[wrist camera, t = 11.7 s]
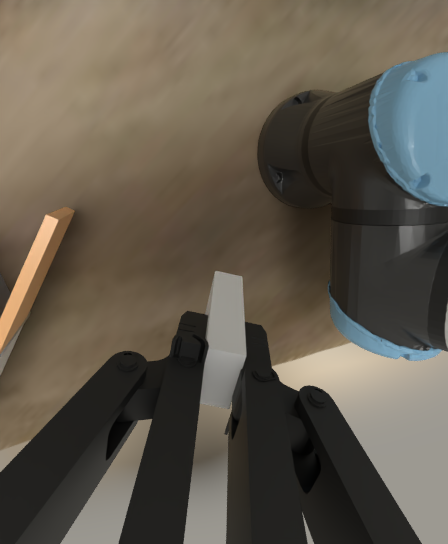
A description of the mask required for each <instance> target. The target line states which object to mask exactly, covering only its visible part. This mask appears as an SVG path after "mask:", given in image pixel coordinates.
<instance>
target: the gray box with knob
mask: <svg viewBox="0 0 448 544" xmlns="http://www.w3.org/2000/svg"><path fill="white" fill-rule="evenodd" d="M10 295H11V293H10V291H9V289H8V287H7V285H6V283H5V281H4V279H3V277H2V276H1V274H0V318H1V316H2V313H3V311H4V309H5V307H6V304H7V302H8V300H9V298H10Z"/></svg>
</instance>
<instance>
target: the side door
mask: <svg viewBox="0 0 448 544" xmlns="http://www.w3.org/2000/svg"><path fill="white" fill-rule="evenodd" d="M74 212H75V211H74V210H72V209H70V208H68V207H64V208H61V209H59V210H56V211H54V212H51V213H49V214H46V216H45V218H44V221H43V223H42V225H41V228H40V230H39V232H38V234H37V237H36V239H35V241H34V243H33V246H32V248H31V250H30V252H29V255H28V257H27V259H26V261H25V264H24V266H23V268H22V270H21V273H20V275H19V277H18V279H17V282H16V284H15V286H14V289H13V291H12V293H11V295H10V298H9V300H8V302H7V304H6V307H5V309H4V311H3V313H2V316H1V318H0V375H1V373H2V371H3V369H4V367H5V364H6V362H7V360H8V358H9V356H10V353H11V351H12V349H13V347H14V344H15V342H16V340H17V338H18V336H19V333H20V331H21V329H22V327H23V325H24V323H25V322H26V320H27V319H28V317H29V316H30V314H31V311H30V309H31V307H32V305H33V303H34V301H35V298H36V296H37V294H38V292H39V290H40V287H41V285H42V283H43V281H44V278H45V276H46V274H47V272H48V270H49V267H50V265H51V263H52V261H53V259H54V256H55V254H56V252H57V250H58V247H59V245H60V243H61V241H62V239H63V236H64V234H65V232H66V230H67V228H68V225H69V223H70V221H71V219H72V217H73V214H74Z"/></svg>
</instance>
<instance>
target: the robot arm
mask: <svg viewBox="0 0 448 544" xmlns="http://www.w3.org/2000/svg"><path fill="white" fill-rule="evenodd" d="M258 164H259V169H260V172H261V175H262V178H263V180H264V182H265V184H266V186H267V187H268V189H269V190H270V191H271V193H272V194H273V195H274V196H275V197H276V198H278V199H279V200H280V201H282V202H284V203H286V204H288V205H291V206H294V207H301V208H317V207H322V206H325V205H327V204H330V203H332V217H331V254H330V280H329V282H328V294H329V298H330V314H331V318H332V320H333V322H334V325H335V326H336V328H337V329H338V330H339V331H340V333H341V334H342V335H343V336H345V337H346V338H347V339H348V340H350V341H351V342H353V343H354V344H356V345H358V346H359V347H361V348H364V349H365V350H367V351H370V352H372V353H375V354H378V355H381V356H384V357H389V358H393V359H398V358H399V357H400V356H402V357H404V358H406V359H407V360H409V361H419V360H426V359H429V358H432V357H435V356H436V355H438V354H439V353H440V352H441V351H442V350H444V351H448V52H443V53H437V54H433V55H430V56H427V57H424V58H421V59H418V60H416V61H408V62H403V63H401V64H399V65H395V66H393V67H392V68H390V69H388V70H386V71H385V72H384V73H382V74H379V75H377V76H375V77H372V78H370V79H368V80H366V81H363V82H361V83H359V84H356V85H354V86H352V87H350V88H347V89H345V90H343V91H340V92H338V93H336V92H329V91H323V90H310V91H305V92H301V93H299V94H296V95H294V96H292V97H290V98H288V99H287V100H285V101H283V102H282V103H281V104H279V105H278V106H277V107H276V108H275V109H274V110H273V111H272V113H271V114H270V115H269V117H268V118H267V120H266V122H265V124H264V126H263V128H262V131H261V134H260V138H259V143H258ZM231 402H232V412H231V414H230V418H229V421H228V424H227V427H226V430H225V434H226V435H227V434H228V431H229V436H228V485H227V533H226V536H227V537H226V544H307V538H306V532H305V526H304V521H303V515H304V518H305V520H306V523H307V526H308V528H309V531H310V534H311V536H312V539H313V542H314V544H422V543H421V542H420V540H419V538H418V537H417V535H416V534H415V532H414V530H413V529H412V527H411V525H410V524H409V522H408V521H407V519H406V517H405V516H404V514H403V512H402V511H401V509H400V508H399V506H398V505H397V503H396V501H395V500H394V498H393V496H392V495H391V493H390V491H389V490H388V488H387V487H386V485H385V483H384V482H383V480H382V478H381V477H380V475H379V474H378V472H377V470H376V469H375V467H374V465H373V464H372V462H371V461H370V459H369V457H368V456H367V454H366V452H365V451H364V449H363V448H362V446H361V445H360V443H359V441H358V440H357V438H356V436H355V435H354V433H353V431H352V430H351V428H350V427H349V425H348V423H347V422H346V420H345V418H344V417H343V415H342V414H341V412H340V410H339V409H338V407H337V405H336V404H335V402H334V401H333V399H332V398H331V397H330V395H329V394H328V393H326V392H325V391H323V390H322V389H320V388H318V387H315V386H304V387H302V388H301V389H300V391H297V390H294V389H292V388H290V387H288V386H286V385H284V384H283V383H281V382H280V381H279V377H278V375H277V373H276V372H275V371H274V370H273V369H272V366H271V360H270V354H269V348H268V342H267V334H266V332H265V330H264V329H263V327H262V326H261V325H257V324H252V323H248V322H245V318H244V300H243V281H242V276H237V275H233V274H228V273H224V272H219V271H215V275H214V279H213V283H212V287H211V291H210V296H209V300H208V304H207V308H206V312H205V314H200V313H196V312H191V311H187V312H185V313H184V314H183V315H182V316H181V319H180V323H179V327H178V330H177V334H176V335H175V337H174V338H173V340H172V346H171V351H170V355H169V356H168V357H166V358H164V359H162V360H159V361H149V362H147V360H146V359H145V358H144V356H142V355H141V354H139V353H137V352H132V351H123V352H119V353H116V354H115V355H113V356H112V357H111V358H110V359H109V360H108V361H107V362H106V363H105V364H104V365H103V366H102V367H101V368H100V369H99V370H98V371H97V372H96V373H95V374H94V375H93V376H92V377H91V378H90V379H89V381H88V382H87V383H86V384H85V385H84V386H83V387H82V388H81V389H80V390H79V391H78V392H77V393H76V394H75V395H74V396H73V397H72V398H71V399H70V400H69V401H68V402H67V403H66V405H65V406H64V407H63V408H62V409H61V410H60V411H59V412H58V413H57V414H56V415H55V416H54V417H53V418H52V419H51V420H50V421H49V422H48V423H47V424H46V425H45V426H44V427H43V429H42V430H41V431H40V432H39V433H38V434H37V435H36V436H35V437H34V438H33V439H32V440H31V441H30V442H29V443H28V444H27V445H26V446H25V447H24V448H23V449H22V450H21V452H19V454H18V455H17V456H16V457H15V458H14V459H13V460H12V461H11V462H10V463H9V464H8V465H7V466H6V467H5V468H4V469H3V470H2V471H1V472H0V544H60V543H61V542H62V540H63V538H64V537H65V535H66V534H67V532H68V531H69V529H70V528H71V526H72V524H73V523H74V521H75V519H76V518H77V516H78V515H79V513H80V512H81V510H82V509H83V507H84V506H85V504H86V503H87V501H88V499H89V498H90V496H91V495H92V493H93V492H94V490H95V488H96V487H97V485H98V484H99V482H100V480H101V479H102V477H103V476H104V474H105V473H106V471H107V469H108V468H109V467H110V465H111V463H112V462H113V460H114V459H115V457H116V456H117V454H118V452H119V451H120V449H121V448H122V446H123V444H124V443H125V441H126V440H127V438H128V437H129V435H130V434H131V432H132V430H133V429H134V427H135V426H136V424H137V422H138V420H146V419H152V423H151V426H150V430H149V434H148V437H147V441H146V445H145V448H144V452H143V456H142V459H141V463H140V467H139V470H138V474H137V478H136V481H135V485H134V489H133V492H132V497H131V500H130V504H129V507H128V511H127V515H126V518H125V522H124V526H123V529H122V533H121V536H120V540H119V544H183V541H184V533H185V525H186V516H187V507H188V499H189V491H190V482H191V474H192V465H193V456H194V449H195V440H196V431H197V423H198V415H199V406H200V404H205V405H211V406H216V407H221V408H227V409H229V408H230V405H231ZM302 512H303V515H302Z"/></svg>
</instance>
